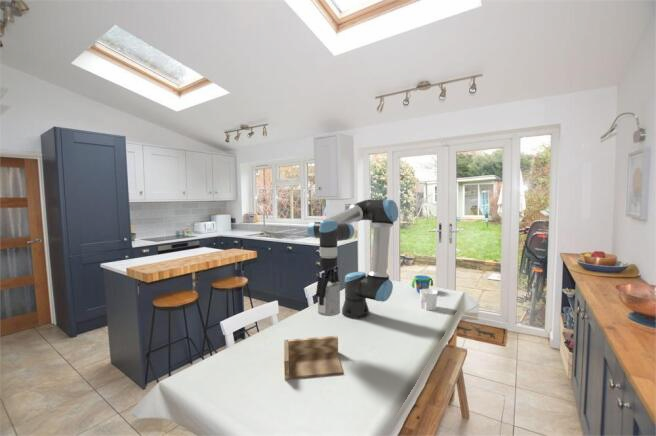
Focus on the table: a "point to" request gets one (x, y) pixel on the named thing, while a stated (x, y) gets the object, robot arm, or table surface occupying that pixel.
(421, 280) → the snack cup
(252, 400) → the table surface
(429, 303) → the cup
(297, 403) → the table surface
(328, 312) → the beer can
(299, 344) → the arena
